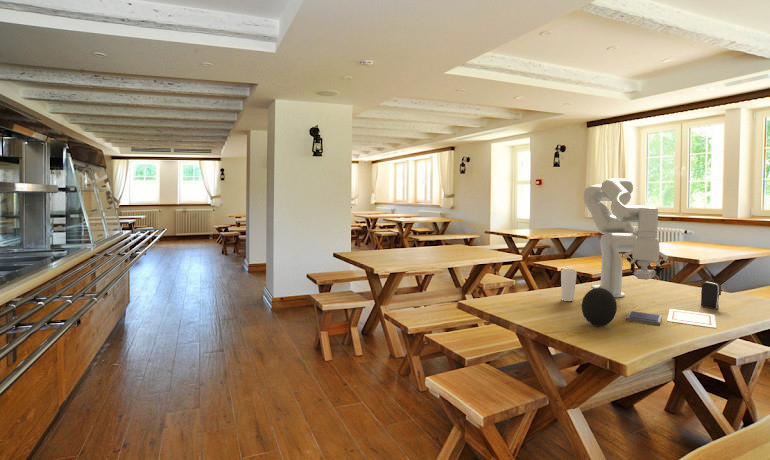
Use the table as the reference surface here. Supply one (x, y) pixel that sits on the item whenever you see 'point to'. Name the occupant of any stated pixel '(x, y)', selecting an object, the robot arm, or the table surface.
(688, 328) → the table surface
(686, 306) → the table surface
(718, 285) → the battery charger
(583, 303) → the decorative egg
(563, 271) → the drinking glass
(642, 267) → the stamp
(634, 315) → the ink pad
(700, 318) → the paper sheet
